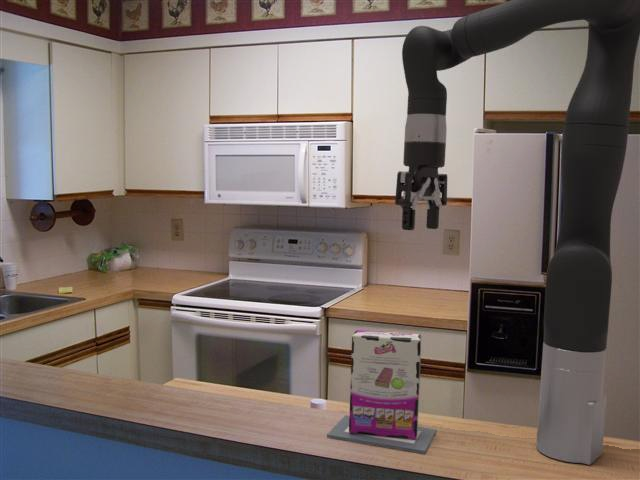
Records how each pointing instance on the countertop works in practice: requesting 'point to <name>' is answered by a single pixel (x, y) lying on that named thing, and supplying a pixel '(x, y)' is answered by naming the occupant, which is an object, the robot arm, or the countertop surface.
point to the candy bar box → (385, 384)
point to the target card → (384, 438)
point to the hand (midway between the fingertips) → (420, 229)
